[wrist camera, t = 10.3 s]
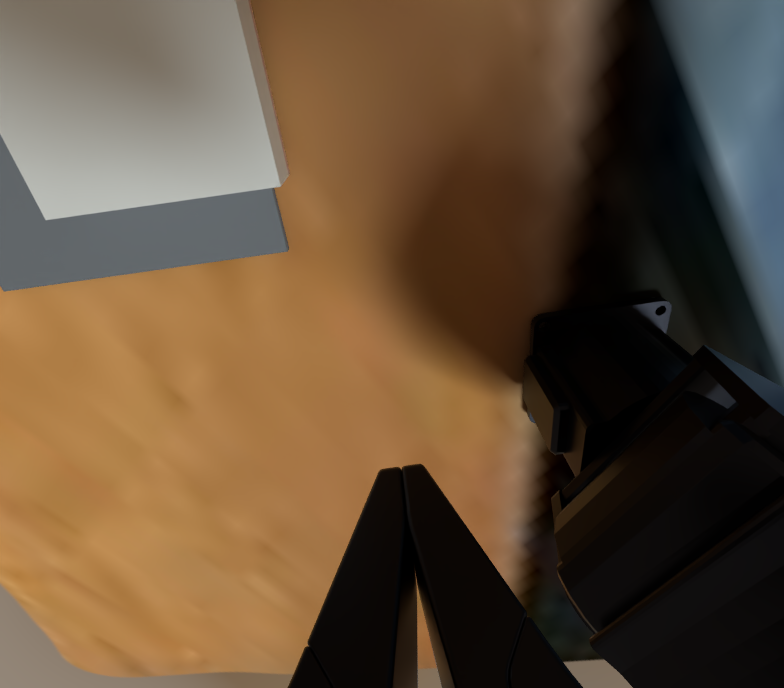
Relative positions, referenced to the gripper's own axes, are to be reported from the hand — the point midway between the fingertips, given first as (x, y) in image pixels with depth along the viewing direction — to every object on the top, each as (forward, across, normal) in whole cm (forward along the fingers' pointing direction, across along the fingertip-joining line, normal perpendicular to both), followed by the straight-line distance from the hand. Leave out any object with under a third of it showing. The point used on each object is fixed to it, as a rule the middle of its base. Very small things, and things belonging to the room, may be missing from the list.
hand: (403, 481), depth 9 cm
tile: (+11, +3, -8) cm, 14 cm away
